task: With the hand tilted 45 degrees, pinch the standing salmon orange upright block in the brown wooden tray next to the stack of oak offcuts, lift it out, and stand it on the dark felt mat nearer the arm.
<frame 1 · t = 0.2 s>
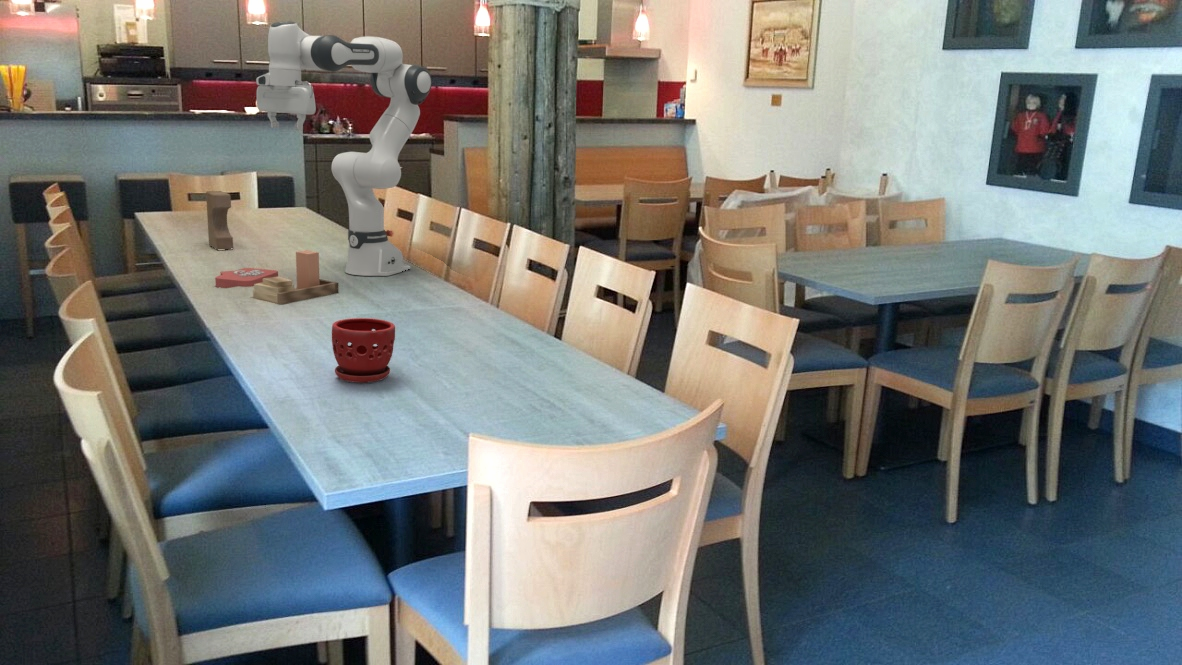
hand: (286, 129, 273), 47 cm above the table, tool pointing down, fingers open, 8 cm apart
plant pot: (364, 377, 202), on the table
offcut stack: (276, 298, 264), resting on brown wooden tray
decorative block: (221, 248, 341), on the table
plaque: (243, 284, 287), on the table
brown wooden tray: (295, 298, 270), on the table
felt mat: (284, 289, 280), on the table
salmon orange upright block: (308, 292, 273), point 1 cm above the table, touching brown wooden tray
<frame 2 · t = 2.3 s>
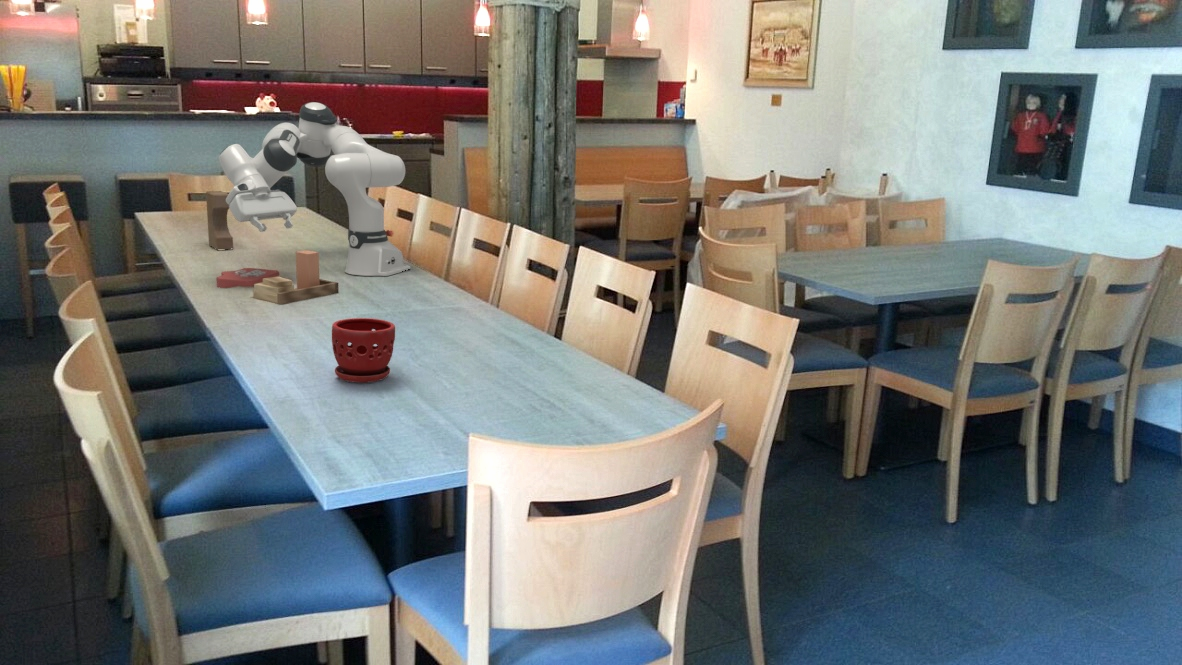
hand: (277, 228, 275), 18 cm above the table, tool tilted 45°, fingers open, 8 cm apart
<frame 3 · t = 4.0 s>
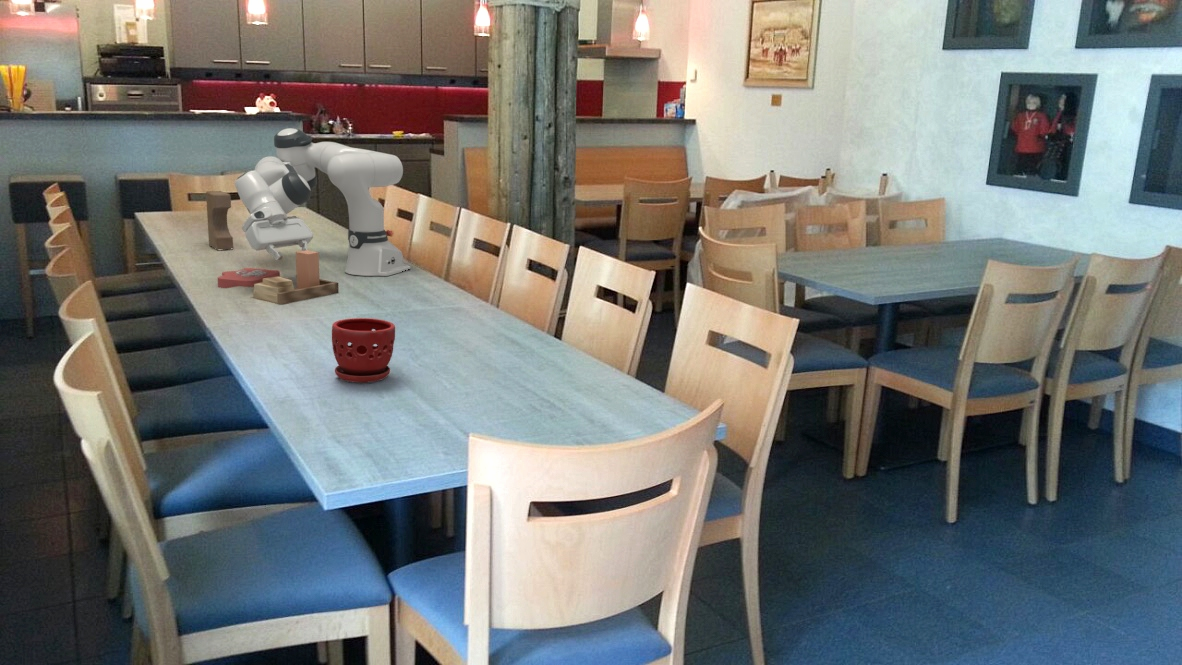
hand: (293, 256, 272), 11 cm above the table, tool tilted 45°, fingers open, 8 cm apart
nothing on the table moved.
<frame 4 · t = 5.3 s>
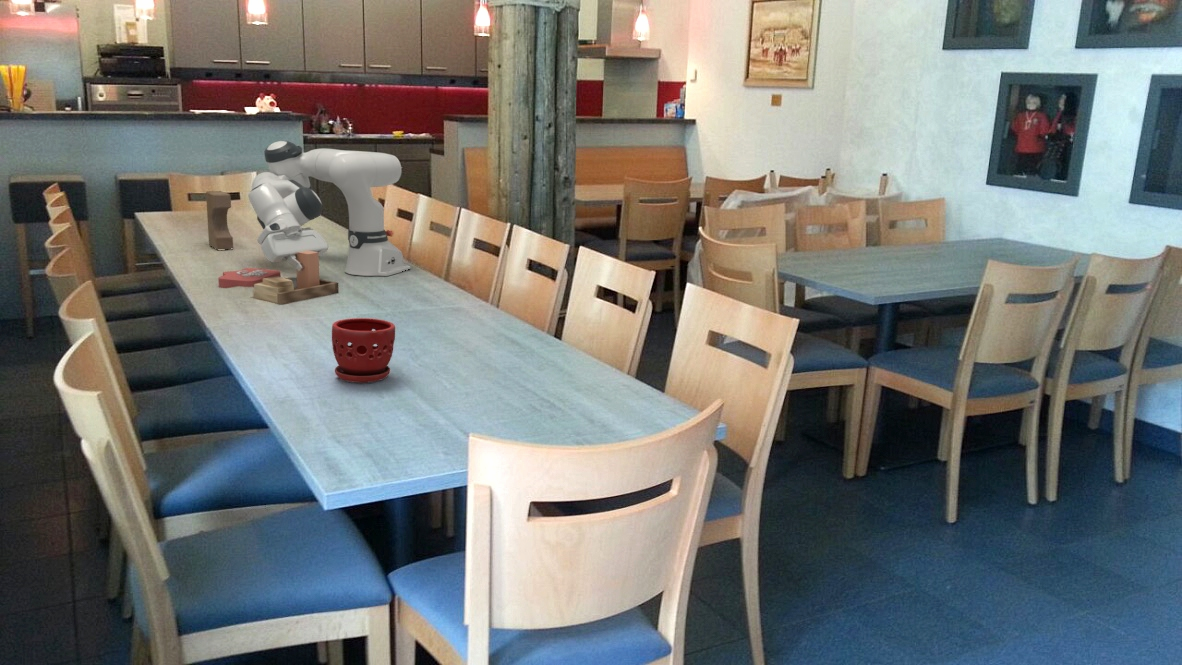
hand: (309, 268, 271), 8 cm above the table, tool tilted 45°, fingers closed on salmon orange upright block, 4 cm apart
salmon orange upright block: (308, 292, 273), point 1 cm above the table, touching gripper, brown wooden tray
everything else where it was.
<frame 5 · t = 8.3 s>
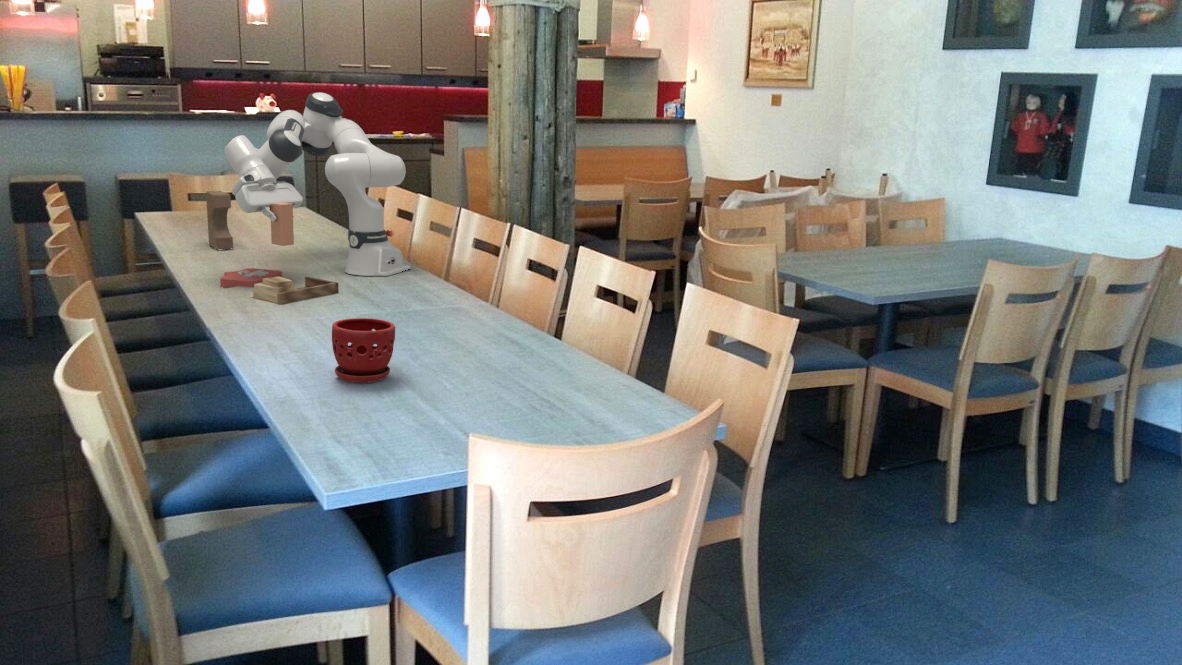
hand: (283, 219, 274), 21 cm above the table, tool tilted 45°, fingers closed on salmon orange upright block, 4 cm apart
salmon orange upright block: (282, 244, 276), point 14 cm above the table, touching gripper
when the fingers open (9 cm above the table, at t = 10.8 s): salmon orange upright block drops 1 cm, resting on felt mat.
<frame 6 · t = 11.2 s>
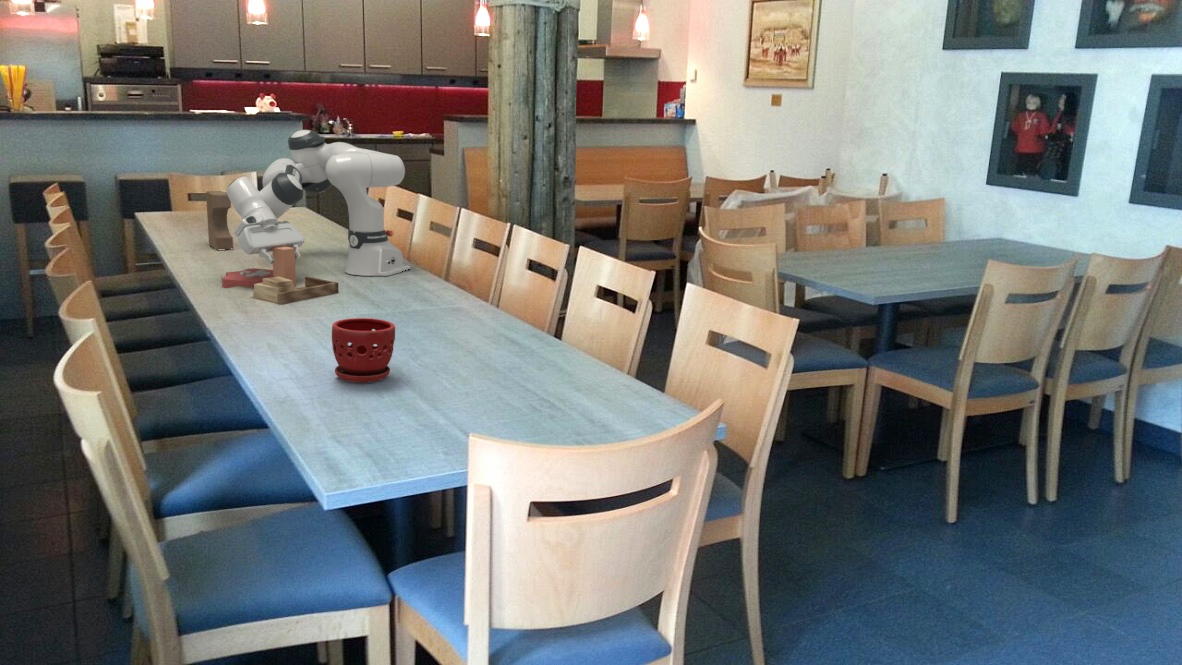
hand: (285, 260, 277), 9 cm above the table, tool tilted 45°, fingers open, 8 cm apart
salmon orange upright block: (284, 287, 280), point 1 cm above the table, touching felt mat
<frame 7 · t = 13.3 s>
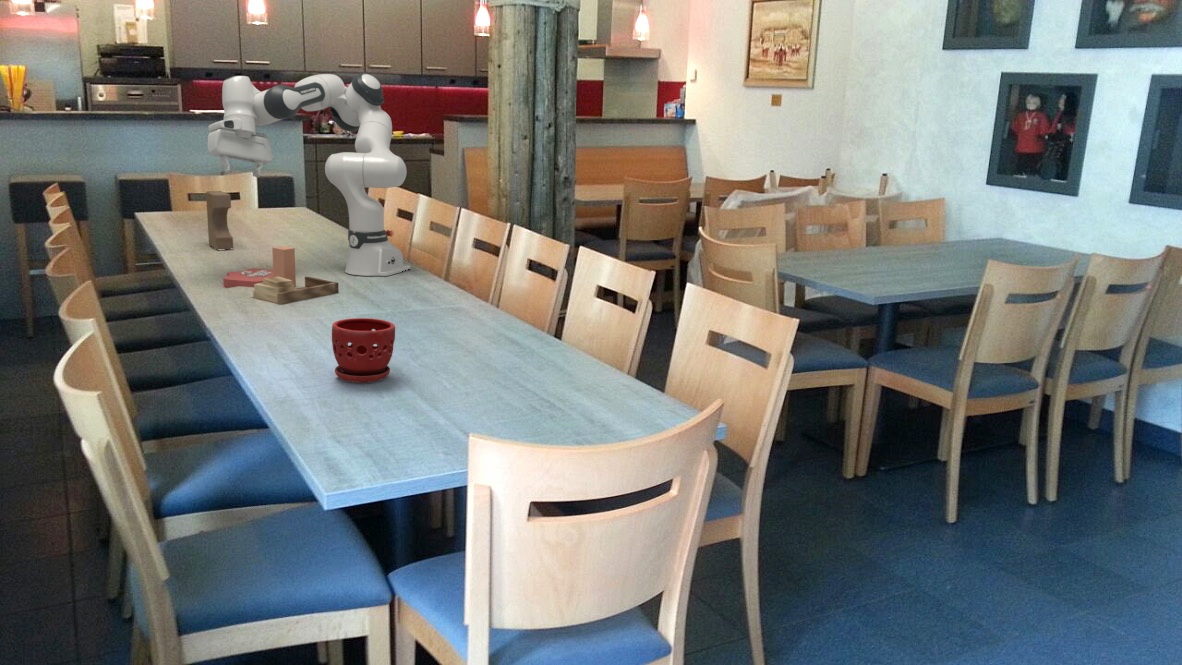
hand: (242, 174, 280), 33 cm above the table, tool tilted 20°, fingers open, 8 cm apart
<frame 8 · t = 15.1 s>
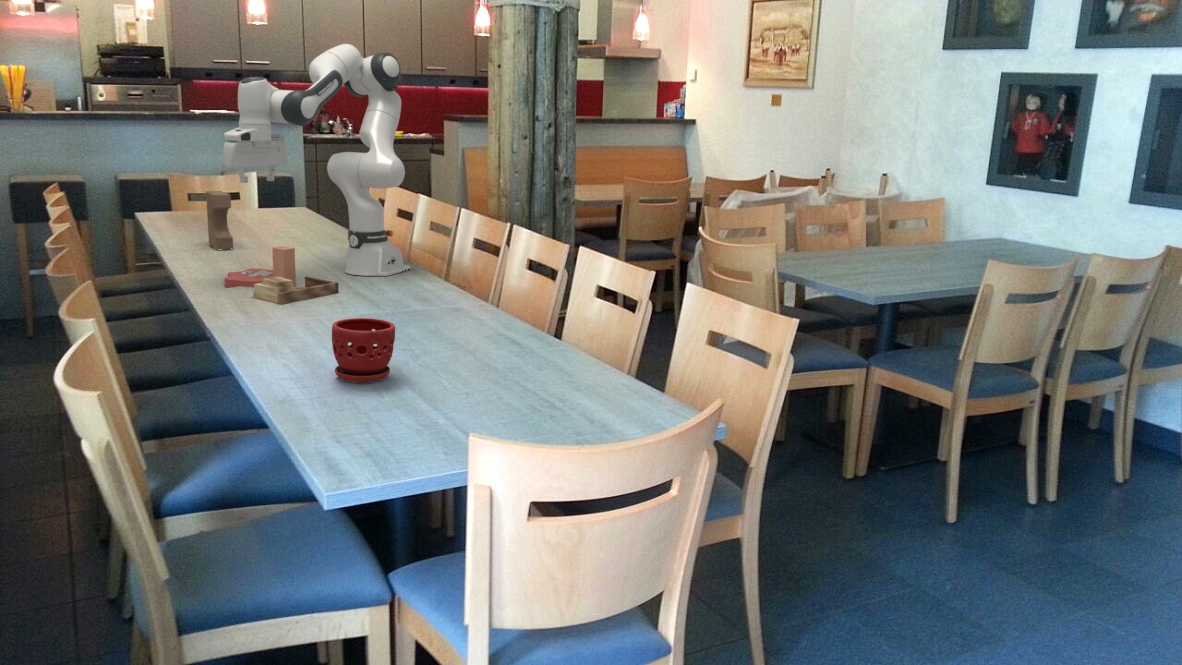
hand: (257, 181, 277), 31 cm above the table, tool pointing down, fingers open, 8 cm apart
at the end: salmon orange upright block inside the target area (0.1 cm from its centre), point 0.6 cm above the table; salmon orange upright block tilted 0°; the gripper is holding nothing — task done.
